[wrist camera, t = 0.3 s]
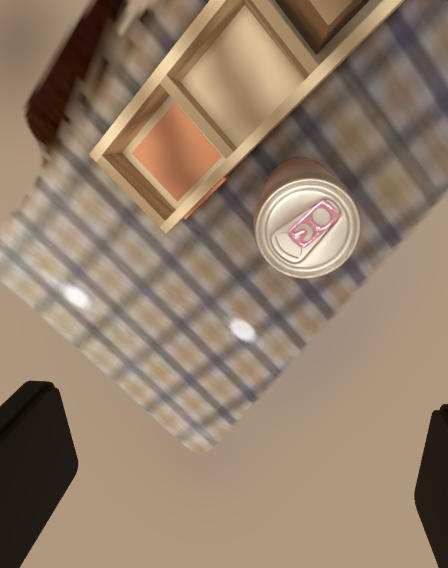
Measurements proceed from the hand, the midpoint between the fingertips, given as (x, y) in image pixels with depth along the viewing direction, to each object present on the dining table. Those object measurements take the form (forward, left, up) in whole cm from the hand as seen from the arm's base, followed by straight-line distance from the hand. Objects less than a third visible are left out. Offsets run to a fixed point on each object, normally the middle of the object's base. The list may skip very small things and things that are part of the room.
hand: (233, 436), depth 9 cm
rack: (-6, -10, -27) cm, 30 cm away
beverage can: (-3, 0, -28) cm, 28 cm away
